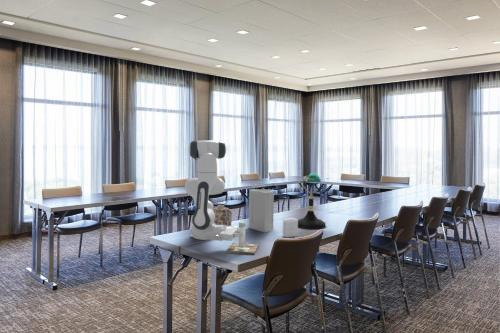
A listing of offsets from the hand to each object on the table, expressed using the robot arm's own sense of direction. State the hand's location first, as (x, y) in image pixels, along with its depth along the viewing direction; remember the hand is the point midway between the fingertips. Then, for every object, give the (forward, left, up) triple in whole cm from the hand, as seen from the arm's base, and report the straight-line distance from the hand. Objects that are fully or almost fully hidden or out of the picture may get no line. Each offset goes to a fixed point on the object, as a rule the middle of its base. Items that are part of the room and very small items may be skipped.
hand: (243, 234), depth 219 cm
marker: (0, -1, -7) cm, 8 cm away
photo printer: (-44, +24, -10) cm, 51 cm away
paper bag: (-64, +4, -10) cm, 65 cm away
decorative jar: (-49, -26, -10) cm, 56 cm away
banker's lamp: (-81, +37, -10) cm, 89 cm away
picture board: (-5, -1, -10) cm, 11 cm away
